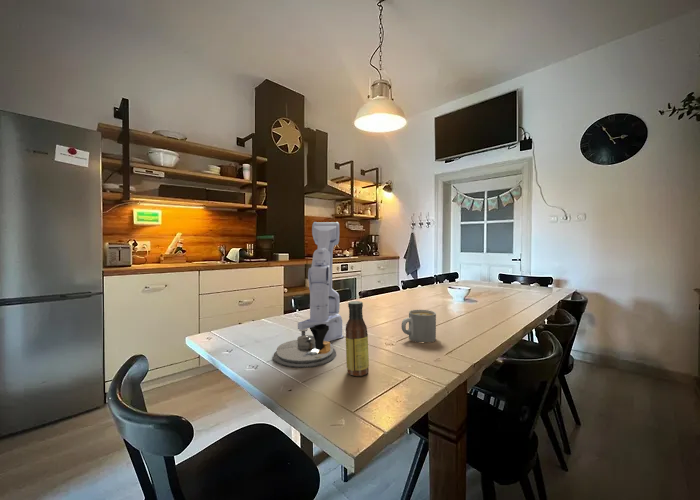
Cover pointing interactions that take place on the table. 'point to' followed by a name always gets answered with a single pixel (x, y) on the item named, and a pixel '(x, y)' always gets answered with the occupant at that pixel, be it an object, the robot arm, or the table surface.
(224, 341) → the table surface
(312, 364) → the turntable base
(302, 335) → the small grey dumbbell
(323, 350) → the turntable
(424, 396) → the table surface
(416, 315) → the coffee mug
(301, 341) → the cover
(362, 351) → the sauce bottle
